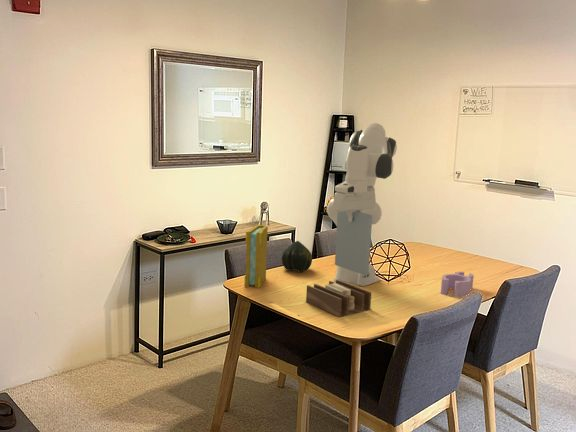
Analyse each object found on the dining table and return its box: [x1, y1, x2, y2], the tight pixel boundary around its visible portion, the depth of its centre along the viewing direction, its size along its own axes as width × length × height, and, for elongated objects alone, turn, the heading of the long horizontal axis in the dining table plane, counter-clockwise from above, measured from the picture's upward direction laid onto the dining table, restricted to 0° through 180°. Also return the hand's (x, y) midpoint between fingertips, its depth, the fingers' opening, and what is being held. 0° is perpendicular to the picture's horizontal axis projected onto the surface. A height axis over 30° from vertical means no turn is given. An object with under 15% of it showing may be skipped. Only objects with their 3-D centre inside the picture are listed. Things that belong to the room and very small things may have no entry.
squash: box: [281, 240, 313, 273], centre depth 288 cm, size 14×15×15 cm
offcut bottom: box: [348, 303, 355, 311], centre depth 234 cm, size 5×14×2 cm, turn 37°
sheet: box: [334, 211, 373, 276], centre depth 233 cm, size 2×18×24 cm, turn 37°
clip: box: [440, 271, 475, 298], centre depth 265 cm, size 20×12×7 cm, turn 141°
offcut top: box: [324, 282, 351, 297], centre depth 233 cm, size 5×10×2 cm, turn 34°
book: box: [244, 224, 269, 288], centre depth 264 cm, size 17×7×25 cm, turn 168°
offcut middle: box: [348, 296, 355, 304], centre depth 233 cm, size 5×12×2 cm, turn 40°
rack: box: [304, 280, 373, 319], centre depth 233 cm, size 18×21×8 cm
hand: (353, 221), depth 231 cm, fingers closed on sheet, 2 cm apart
